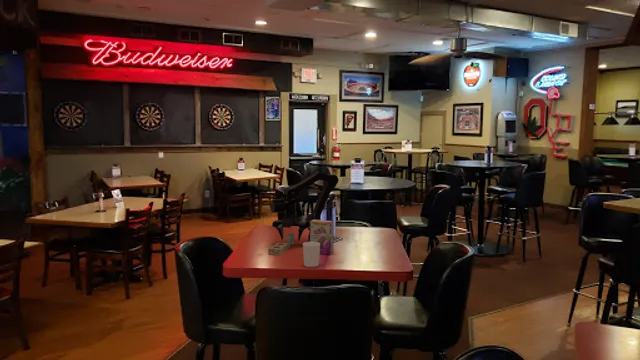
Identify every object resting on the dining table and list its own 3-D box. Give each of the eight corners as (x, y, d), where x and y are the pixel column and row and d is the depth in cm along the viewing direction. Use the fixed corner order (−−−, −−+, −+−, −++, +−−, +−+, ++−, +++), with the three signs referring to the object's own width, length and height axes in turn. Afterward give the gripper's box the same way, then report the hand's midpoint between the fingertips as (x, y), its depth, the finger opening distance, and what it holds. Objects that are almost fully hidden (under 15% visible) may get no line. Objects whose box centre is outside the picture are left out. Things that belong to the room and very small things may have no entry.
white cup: (302, 263, 224) (302, 241, 223) (319, 262, 224) (319, 241, 223) (303, 267, 216) (303, 245, 215) (320, 267, 217) (320, 245, 216)
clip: (294, 244, 261) (294, 233, 260) (290, 247, 253) (290, 236, 253) (291, 243, 261) (290, 232, 261) (286, 247, 254) (286, 235, 253)
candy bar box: (309, 253, 241) (309, 221, 239) (312, 251, 246) (312, 219, 244) (330, 255, 237) (330, 222, 236) (333, 253, 242) (333, 220, 240)
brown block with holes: (289, 248, 250) (289, 243, 250) (279, 255, 237) (279, 249, 236) (278, 248, 252) (278, 242, 251) (268, 254, 238) (268, 248, 238)
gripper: (268, 213, 250) (268, 242, 252) (302, 214, 245) (302, 244, 247) (275, 209, 261) (276, 238, 262) (309, 211, 256) (309, 240, 258)
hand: (290, 240), depth 257 cm, fingers open, 9 cm apart
